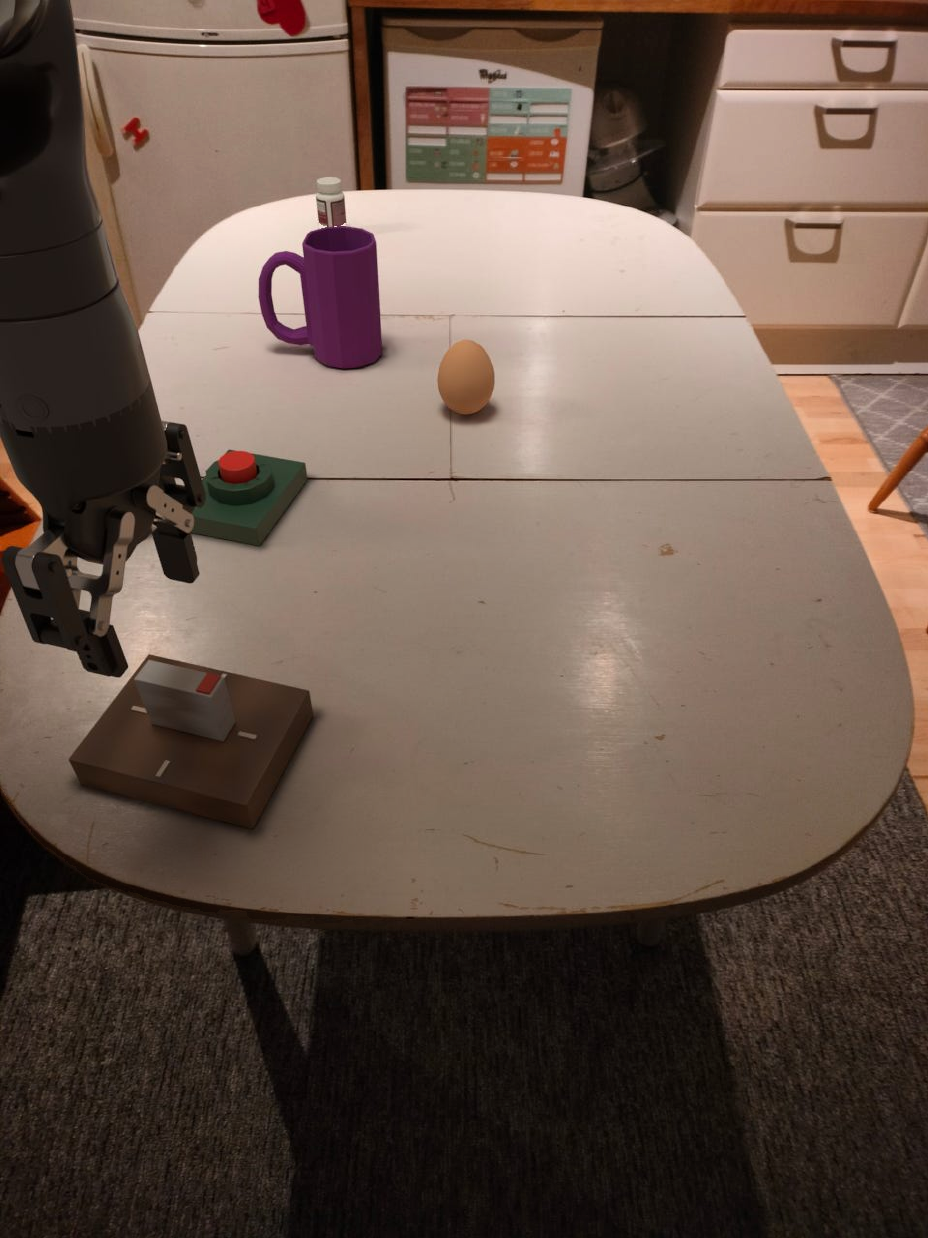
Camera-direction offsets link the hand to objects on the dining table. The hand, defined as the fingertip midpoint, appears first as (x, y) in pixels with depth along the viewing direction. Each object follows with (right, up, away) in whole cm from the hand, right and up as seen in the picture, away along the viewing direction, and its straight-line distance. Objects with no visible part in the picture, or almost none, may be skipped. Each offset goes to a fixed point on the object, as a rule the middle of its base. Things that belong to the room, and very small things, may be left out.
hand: (148, 622), depth 52 cm
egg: (+20, +25, +51) cm, 60 cm away
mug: (+1, +36, +61) cm, 71 cm away
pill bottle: (-3, +66, +93) cm, 115 cm away
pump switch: (-3, +12, +36) cm, 38 cm away
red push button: (-3, +15, +34) cm, 37 cm away
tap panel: (-1, -10, +13) cm, 16 cm away
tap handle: (-1, -8, +11) cm, 13 cm away
